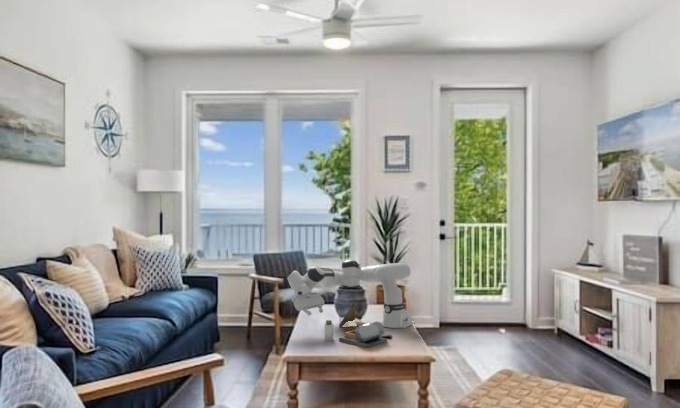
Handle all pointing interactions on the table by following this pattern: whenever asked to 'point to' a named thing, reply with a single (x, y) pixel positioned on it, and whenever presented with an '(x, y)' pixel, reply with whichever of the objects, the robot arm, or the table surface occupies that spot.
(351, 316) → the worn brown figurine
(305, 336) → the table surface
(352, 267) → the robot arm
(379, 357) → the table surface
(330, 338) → the white capped bottle
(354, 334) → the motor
